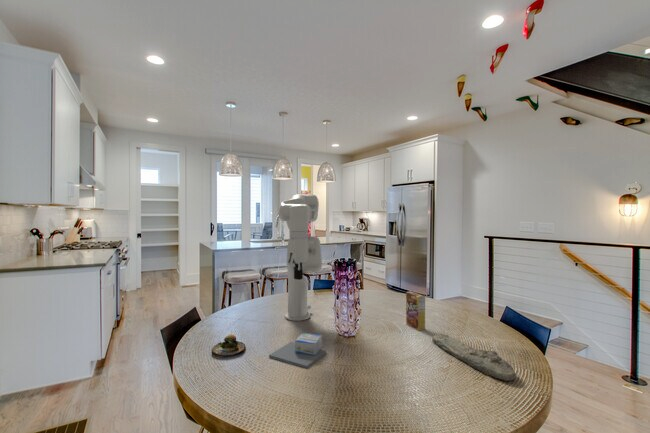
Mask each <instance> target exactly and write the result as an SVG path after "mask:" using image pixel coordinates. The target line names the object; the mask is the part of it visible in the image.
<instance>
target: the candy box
mask: <svg viewBox="0 0 650 433" xmlns="http://www.w3.org/2000/svg"><path fill="white" fill-rule="evenodd" d="M405 320H406V321H405V324H406V325H407V326H409V327H412V328H413V329H415V330H417V331H423V330H425V329H426V295H423V294H421V293H419V292H418V293H417V292H415V291H413V290H412V291H406V292H405Z"/></svg>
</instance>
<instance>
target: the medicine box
mask: <svg viewBox="0 0 650 433" xmlns="http://www.w3.org/2000/svg"><path fill="white" fill-rule="evenodd" d="M294 343H295V352H296V353H303V354H310V355H316V354H317V352H318V351H319V349H320V350H321V348H322V347H323V334H315V333H308V332H307V333H306V332H302V333H301V334H300V335H299V336H298V337H297V338H296V339H295V342H294Z"/></svg>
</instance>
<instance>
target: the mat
mask: <svg viewBox="0 0 650 433" xmlns="http://www.w3.org/2000/svg"><path fill="white" fill-rule="evenodd" d="M326 354H327V351H326V350H323V349H321V348H320V349H319V351H318V352H317V354H316V355H310V354H303V353H296V352H295V342H291V341H290V342H288V343H287V344H285V345H283V346H282V347H279V348H278V349H277V350H275V351H274V352H272V353H270V354H268V357H269V358H271V359H274V360H277V361H281V362H284V363H287V364H291V365H295V366H298V367H301V368H303V369H309V368H310V366H312V365H313V364H314V363H316V362H317V361H319V359H321V358H323V356H324V355H326Z"/></svg>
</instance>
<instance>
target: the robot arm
mask: <svg viewBox="0 0 650 433" xmlns="http://www.w3.org/2000/svg"><path fill="white" fill-rule="evenodd" d="M319 205H320V204H319V199H318V196H317V195H315V194H309V193H307V194H306V193H305V194H304V193H303V194H301V193H299V194H294V195H292V197H291V198H290V199H287V200H284V201H282V202H281V203H280V205H279V208H278V217H279V219H280V221H282V222H286V225H287V228H288V230H289V233H288V234H289V238H288V241H287V250H286V269H287V282H288V285H287V312H286V313H285V314H284V319H286V320H289V321H295V322H300V321H301V322H302V321H306V320H308V319H310V318H311V314H310V312H308V311H309V310H311V308H312V306H311V305H310V304H308V280H307V278H306V277H305V275H304V273H307V274H308V273H318V272H319V273H320V272H321V270H322V266H323V262H322V260H323V258H322V247H321V245H322V244H321V240H320V238H319V237H318V236H312V235H311V236H309V235H308V234H309V228H308V227H309V222H311V223H312V222H316V221H317V219H318V218H319V217H318V216H319V215H318V214H319V209H320V208H319Z"/></svg>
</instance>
